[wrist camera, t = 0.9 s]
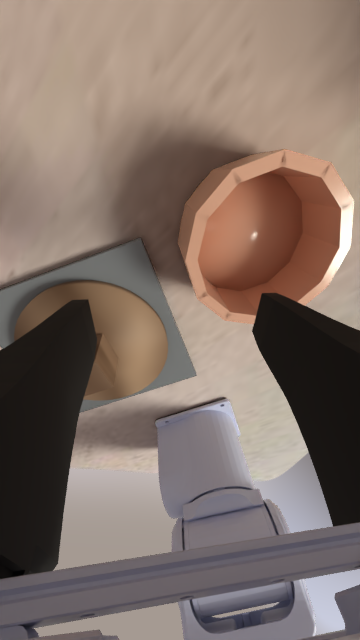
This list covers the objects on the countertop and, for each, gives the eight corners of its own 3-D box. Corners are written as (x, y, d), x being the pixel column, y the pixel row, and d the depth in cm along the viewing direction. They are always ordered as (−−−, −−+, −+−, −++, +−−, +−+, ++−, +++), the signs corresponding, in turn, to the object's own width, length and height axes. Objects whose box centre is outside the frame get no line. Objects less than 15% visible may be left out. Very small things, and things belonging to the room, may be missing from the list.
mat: (70, 411, 27) (68, 416, 27) (-34, 302, 19) (-39, 305, 19) (195, 371, 26) (196, 375, 25) (140, 237, 18) (140, 239, 17)
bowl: (198, 307, 22) (210, 340, 17) (160, 189, 16) (163, 195, 12) (307, 271, 21) (347, 296, 17) (303, 134, 16) (359, 120, 11)
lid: (71, 408, 26) (59, 446, 22) (-18, 311, 19) (-58, 344, 15) (184, 372, 25) (190, 406, 21) (133, 256, 18) (129, 278, 14)
